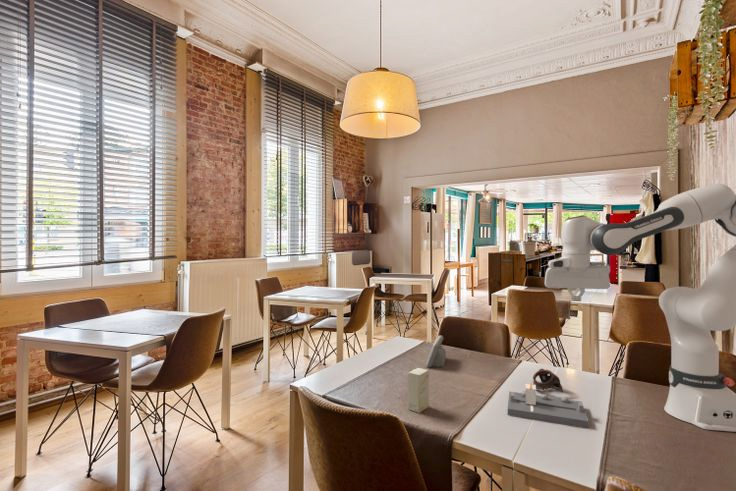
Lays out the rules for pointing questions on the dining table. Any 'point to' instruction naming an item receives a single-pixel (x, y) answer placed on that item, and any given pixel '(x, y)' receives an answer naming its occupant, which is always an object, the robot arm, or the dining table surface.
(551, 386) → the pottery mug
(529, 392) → the fader tab
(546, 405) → the console
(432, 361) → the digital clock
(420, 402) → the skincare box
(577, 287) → the robot arm
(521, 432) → the dining table surface
